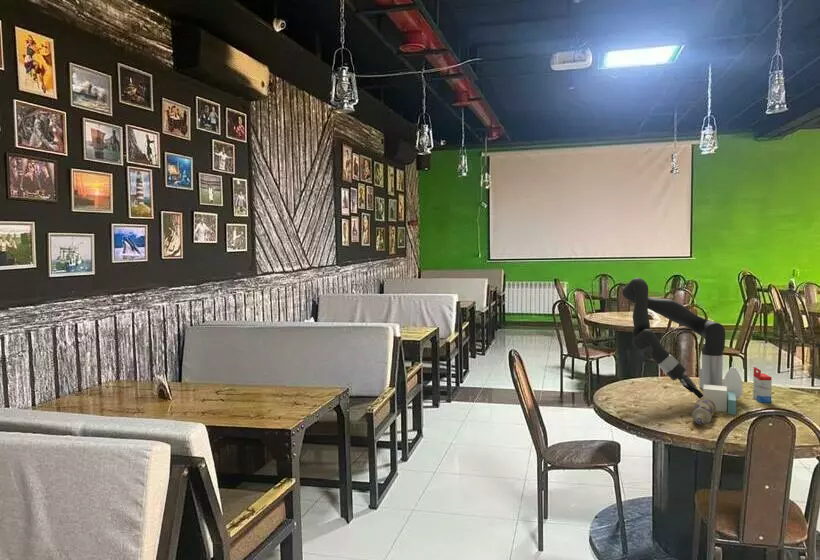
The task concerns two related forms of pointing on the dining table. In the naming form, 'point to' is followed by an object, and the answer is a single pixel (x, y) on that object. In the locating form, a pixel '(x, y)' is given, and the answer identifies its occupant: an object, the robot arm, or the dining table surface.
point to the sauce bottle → (733, 382)
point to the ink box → (761, 386)
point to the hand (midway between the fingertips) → (701, 397)
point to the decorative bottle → (703, 411)
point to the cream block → (716, 396)
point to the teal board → (731, 402)
